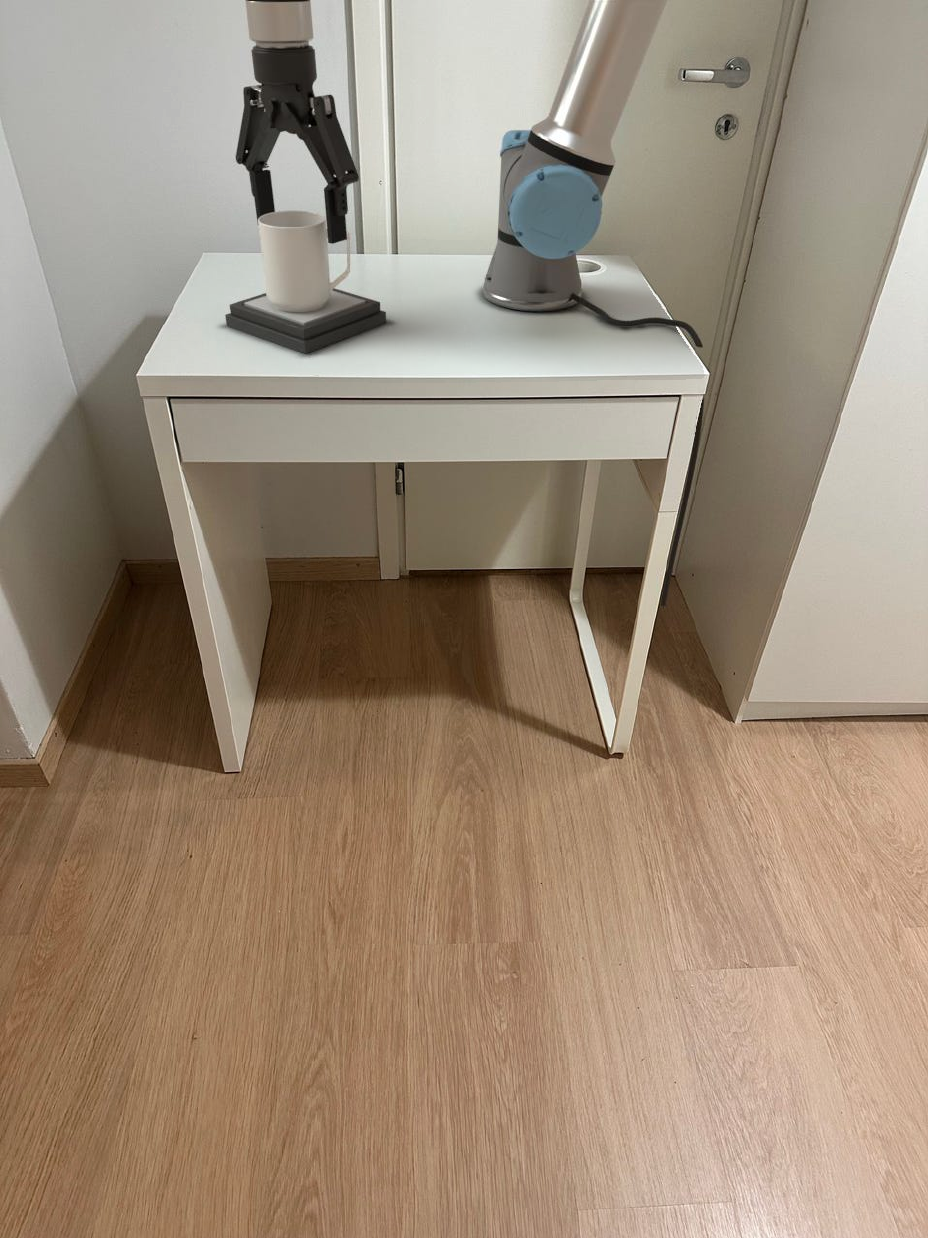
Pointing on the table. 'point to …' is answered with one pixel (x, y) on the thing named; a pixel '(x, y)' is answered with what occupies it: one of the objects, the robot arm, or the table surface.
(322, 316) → the light grey square tile
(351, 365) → the table surface
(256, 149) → the robot arm
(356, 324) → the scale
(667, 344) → the table surface
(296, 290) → the mug
